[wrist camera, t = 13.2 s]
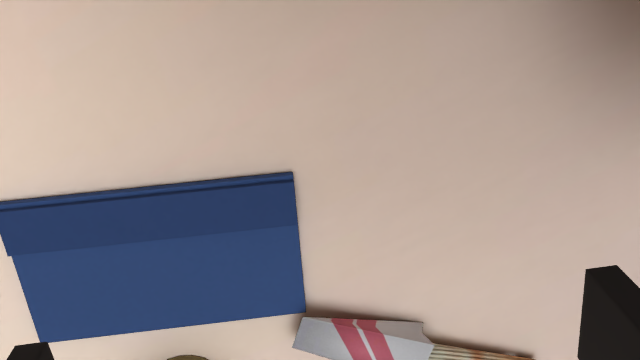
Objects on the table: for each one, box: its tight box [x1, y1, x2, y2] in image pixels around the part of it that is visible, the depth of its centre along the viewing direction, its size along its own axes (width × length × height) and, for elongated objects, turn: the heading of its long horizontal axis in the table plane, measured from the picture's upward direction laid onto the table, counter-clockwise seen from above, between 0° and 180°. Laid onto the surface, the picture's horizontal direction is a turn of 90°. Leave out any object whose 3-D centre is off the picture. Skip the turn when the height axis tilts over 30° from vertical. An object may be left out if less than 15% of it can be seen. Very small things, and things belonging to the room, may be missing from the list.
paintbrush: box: [292, 317, 534, 360], centre depth 44 cm, size 4×3×20 cm
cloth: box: [0, 172, 306, 343], centre depth 40 cm, size 19×11×1 cm, turn 94°
